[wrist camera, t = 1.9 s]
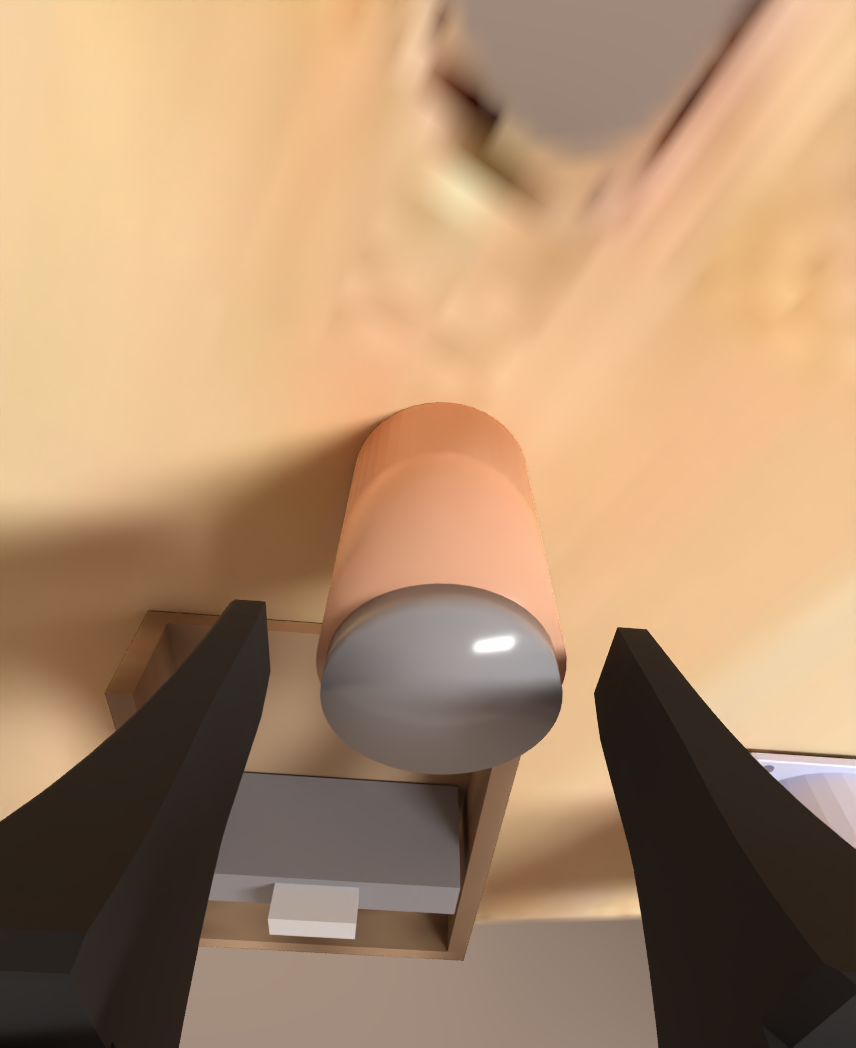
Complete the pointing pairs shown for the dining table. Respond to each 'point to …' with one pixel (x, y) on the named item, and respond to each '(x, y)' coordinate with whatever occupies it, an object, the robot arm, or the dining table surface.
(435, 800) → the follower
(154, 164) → the dining table surface
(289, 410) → the dining table surface
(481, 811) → the brown wooden tray
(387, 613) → the jar
